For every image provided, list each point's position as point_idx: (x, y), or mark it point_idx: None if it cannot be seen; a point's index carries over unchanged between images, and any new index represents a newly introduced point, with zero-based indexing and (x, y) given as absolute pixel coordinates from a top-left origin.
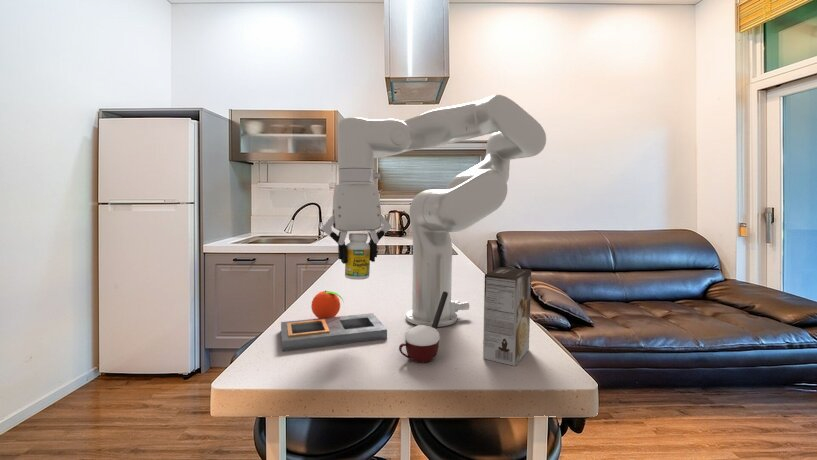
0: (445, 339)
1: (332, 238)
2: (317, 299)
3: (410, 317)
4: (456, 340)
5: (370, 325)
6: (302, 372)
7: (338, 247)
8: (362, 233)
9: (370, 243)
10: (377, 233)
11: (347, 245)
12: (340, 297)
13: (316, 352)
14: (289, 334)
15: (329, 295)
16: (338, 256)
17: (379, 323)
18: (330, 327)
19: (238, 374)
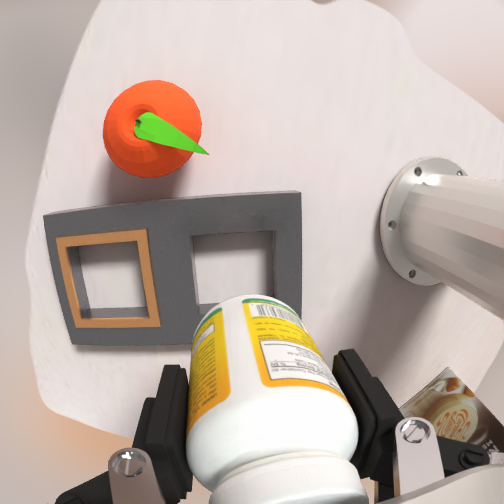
0: (397, 343)
1: (84, 491)
2: (113, 155)
3: (389, 232)
4: (409, 349)
5: (274, 262)
6: (131, 411)
7: (136, 447)
8: (350, 495)
9: (369, 449)
10: (448, 472)
11: (198, 480)
12: (196, 151)
13: (141, 355)
14: (76, 321)
15: (152, 151)
16: (145, 401)
17: (295, 291)
18: (162, 291)
19: (49, 388)
